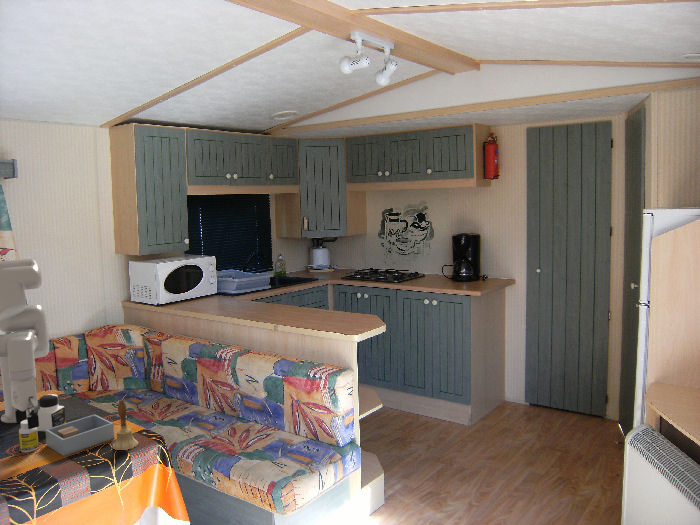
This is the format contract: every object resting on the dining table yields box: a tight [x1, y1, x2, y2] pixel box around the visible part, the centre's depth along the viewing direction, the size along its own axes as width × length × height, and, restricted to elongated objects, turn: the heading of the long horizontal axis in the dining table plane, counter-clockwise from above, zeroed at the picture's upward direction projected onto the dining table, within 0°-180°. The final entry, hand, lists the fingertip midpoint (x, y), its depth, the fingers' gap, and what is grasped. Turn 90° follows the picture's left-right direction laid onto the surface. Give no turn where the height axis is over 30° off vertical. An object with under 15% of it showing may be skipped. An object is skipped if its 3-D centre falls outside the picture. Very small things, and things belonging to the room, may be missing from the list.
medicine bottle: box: [37, 393, 67, 432], centre depth 215 cm, size 7×7×12 cm
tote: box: [44, 413, 115, 457], centre depth 203 cm, size 13×17×6 cm
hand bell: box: [111, 399, 139, 451], centre depth 199 cm, size 8×8×16 cm
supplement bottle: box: [18, 420, 39, 453], centre depth 198 cm, size 5×5×10 cm
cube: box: [57, 426, 79, 439], centre depth 200 cm, size 5×5×5 cm
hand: (27, 424), depth 196 cm, fingers open, 9 cm apart
